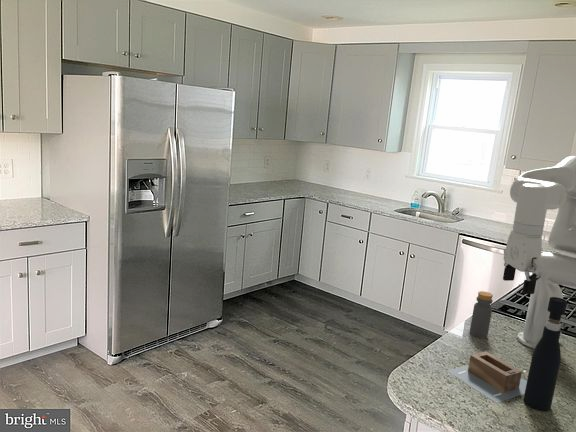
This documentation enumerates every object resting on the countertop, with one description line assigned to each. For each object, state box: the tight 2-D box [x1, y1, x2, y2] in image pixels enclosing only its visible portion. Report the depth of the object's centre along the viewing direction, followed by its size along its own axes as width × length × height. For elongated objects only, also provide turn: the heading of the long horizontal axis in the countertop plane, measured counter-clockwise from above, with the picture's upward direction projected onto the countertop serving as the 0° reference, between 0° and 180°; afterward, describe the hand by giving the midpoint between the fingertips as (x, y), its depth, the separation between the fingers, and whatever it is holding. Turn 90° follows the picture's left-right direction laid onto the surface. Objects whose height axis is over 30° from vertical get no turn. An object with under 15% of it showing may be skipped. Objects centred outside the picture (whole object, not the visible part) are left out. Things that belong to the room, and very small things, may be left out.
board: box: [446, 364, 527, 404], centre depth 139 cm, size 18×17×4 cm
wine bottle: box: [523, 297, 568, 412], centre depth 126 cm, size 6×6×30 cm
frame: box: [468, 350, 523, 393], centre depth 138 cm, size 6×12×5 cm, turn 29°
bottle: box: [469, 290, 494, 339], centre depth 169 cm, size 6×6×15 cm
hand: (517, 286), depth 141 cm, fingers open, 9 cm apart
